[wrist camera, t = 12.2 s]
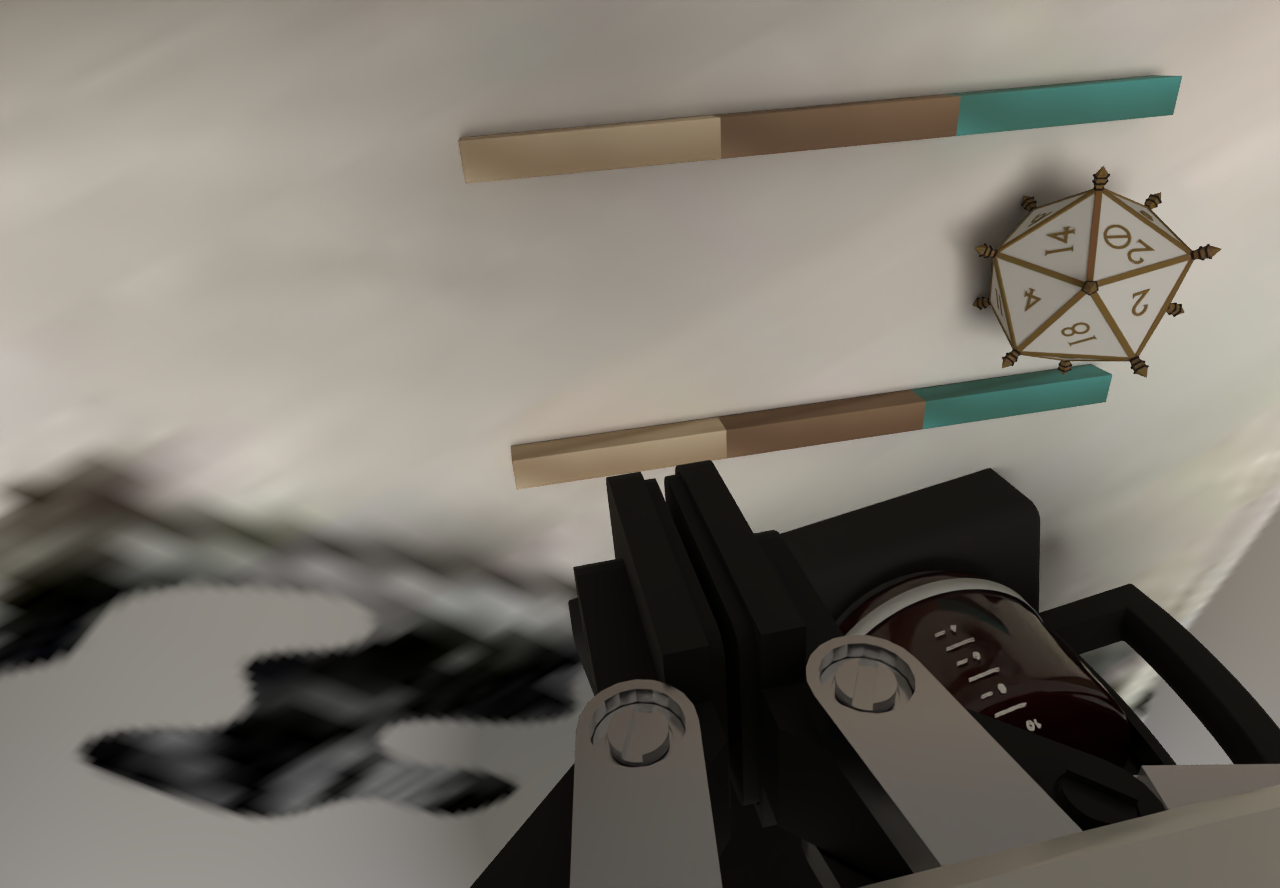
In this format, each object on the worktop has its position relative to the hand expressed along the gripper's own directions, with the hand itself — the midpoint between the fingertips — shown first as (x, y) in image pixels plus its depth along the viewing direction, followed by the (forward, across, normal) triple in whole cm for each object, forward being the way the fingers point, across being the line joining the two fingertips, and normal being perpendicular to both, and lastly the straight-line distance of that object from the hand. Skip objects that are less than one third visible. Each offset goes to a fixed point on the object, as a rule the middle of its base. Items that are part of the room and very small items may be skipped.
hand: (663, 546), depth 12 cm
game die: (+22, -22, +4) cm, 32 cm away
